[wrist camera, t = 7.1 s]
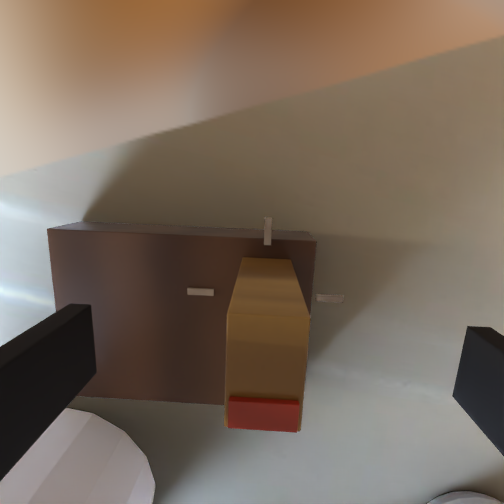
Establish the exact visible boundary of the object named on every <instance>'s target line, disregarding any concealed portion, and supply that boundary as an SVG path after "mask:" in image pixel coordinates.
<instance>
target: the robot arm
mask: <svg viewBox="0 0 504 504" xmlns="http://www.w3.org/2000/svg"><path fill="white" fill-rule="evenodd" d="M96 373H97V369H96V357H95V346H94V334H93V322H92V310H91V305H90V304H72V303H70V304H68V305H67V306H65V307H64V308H62V309H60V310H59V311H57V312H56V313H54V314H52V315H51V316H49V317H48V318H46V319H44V320H43V321H41V322H40V323H38V324H36V325H35V326H33V327H31V328H30V329H28V330H27V331H25V332H23V333H22V334H20V335H19V336H17V337H15V338H14V339H12V340H11V341H9V342H7V343H6V344H4V345H3V346H1V347H0V481H1V480H2V479H3V478H4V477H5V476H6V475H7V473H8V472H9V471H10V470H11V469H12V468H13V467H14V466H15V464H16V463H17V462H18V461H19V460H20V459H21V458H22V457H23V455H24V454H25V453H26V452H27V451H28V450H29V449H30V448H31V446H32V445H33V444H34V443H35V442H36V441H37V440H38V439H39V437H40V436H41V435H42V434H43V433H44V432H45V431H46V430H47V428H48V427H49V426H50V425H51V424H52V423H53V422H54V420H55V419H56V418H57V417H58V416H59V415H60V414H61V413H62V411H63V410H64V409H65V408H66V407H67V406H68V405H69V404H70V402H71V401H72V400H73V399H74V398H75V397H76V396H77V395H78V393H79V392H80V391H81V390H82V389H83V388H84V387H85V386H86V384H87V383H88V382H89V381H90V380H91V379H92V378H93V377H94V375H95V374H96ZM453 397H454V399H455V400H456V401H457V402H458V403H459V405H460V406H461V407H462V408H463V409H464V410H465V412H466V413H467V414H468V415H469V416H470V417H471V419H472V420H473V421H474V422H475V423H476V424H477V426H478V427H479V428H480V429H481V430H482V431H483V433H484V434H485V435H486V436H487V437H488V438H489V440H490V441H491V442H492V443H493V444H494V445H495V447H496V448H497V449H498V450H499V451H500V452H501V454H502V455H503V456H504V336H503V335H501V334H500V333H498V332H497V331H495V330H494V329H492V328H491V327H475V326H467V330H466V335H465V340H464V344H463V349H462V354H461V358H460V363H459V368H458V372H457V377H456V382H455V386H454V391H453Z"/></svg>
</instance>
